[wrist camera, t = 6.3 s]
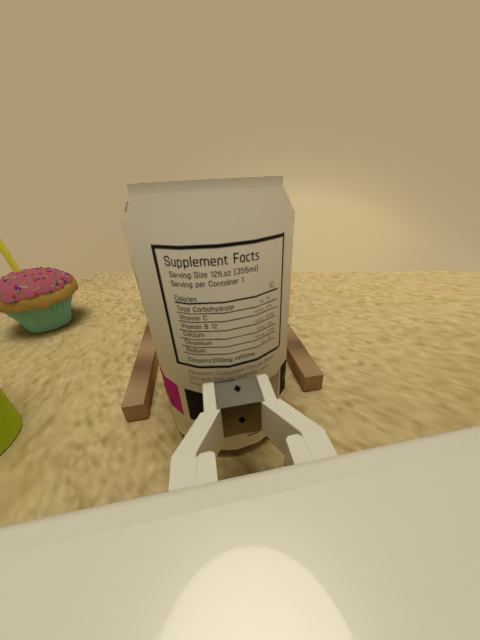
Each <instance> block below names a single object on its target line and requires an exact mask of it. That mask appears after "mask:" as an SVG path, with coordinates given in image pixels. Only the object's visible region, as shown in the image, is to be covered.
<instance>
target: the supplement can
mask: <svg viewBox="0 0 480 640" xmlns="http://www.w3.org/2000/svg"><path fill="white" fill-rule="evenodd" d="M127 187H128V191H129V194H128V198H127V202H126V206H125V210H124V215H123V219H122V223H121V224H122V228H123V232H124V235H125V239H126V243H127V246H128V250H129V254H130V258H131V261H132V265H133V269H134V273H135V276H136V280H137V284H138V287H139V291H140V295H141V299H142V302H143V306H144V310H145V313H146V317H147V321H148V325H149V328H150V332H151V336H152V340H153V343H154V347H155V351H156V354H157V358H158V362H159V366H160V369H161V373H162V377H163V380H164V384H165V388H166V392H167V395H168V399H169V403H170V406H171V410H172V414H173V417H174V419H175V422H176V425H177V427H178V430H179V431H180V432H181V433H182V434H183V435H184V436H186V434H187V433H188V431H189V430H190V428H191V427H192V425H193V423H194V422H195V420H196V419H197V417H198V416H199V414H200V413H201V412H204V406H203V389H202V385H203V384H204V383H211V382H217V381H224V380H231V379H237V378H243V377H249V376H256V375H260V374H267V376H268V378H269V381H270V383H271V385H272V388H273V390H274V393H275V395H276V398H277V399H281V400H283V401H284V387H285V370H286V352H287V335H288V318H289V300H290V283H291V264H292V248H293V231H294V209H293V207H292V205H291V202H290V200H289V197H288V195H287V193H286V191H285V188H284V186H283V176H266V177H245V178H226V179H207V180H188V181H170V182H153V183H138V184H127ZM265 436H266V435H265V434H264V433H263V432H262V431H257V432H251V433H244V434H239V435H235V436H230V437H226V438H224V441H223V444H222V446H221V448H220V450H237V449H240V448H243V447H246V446H249V445H251V444H254V443H257V442H259V441H260V440H261V439H263V438H264V437H265Z"/></svg>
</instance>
